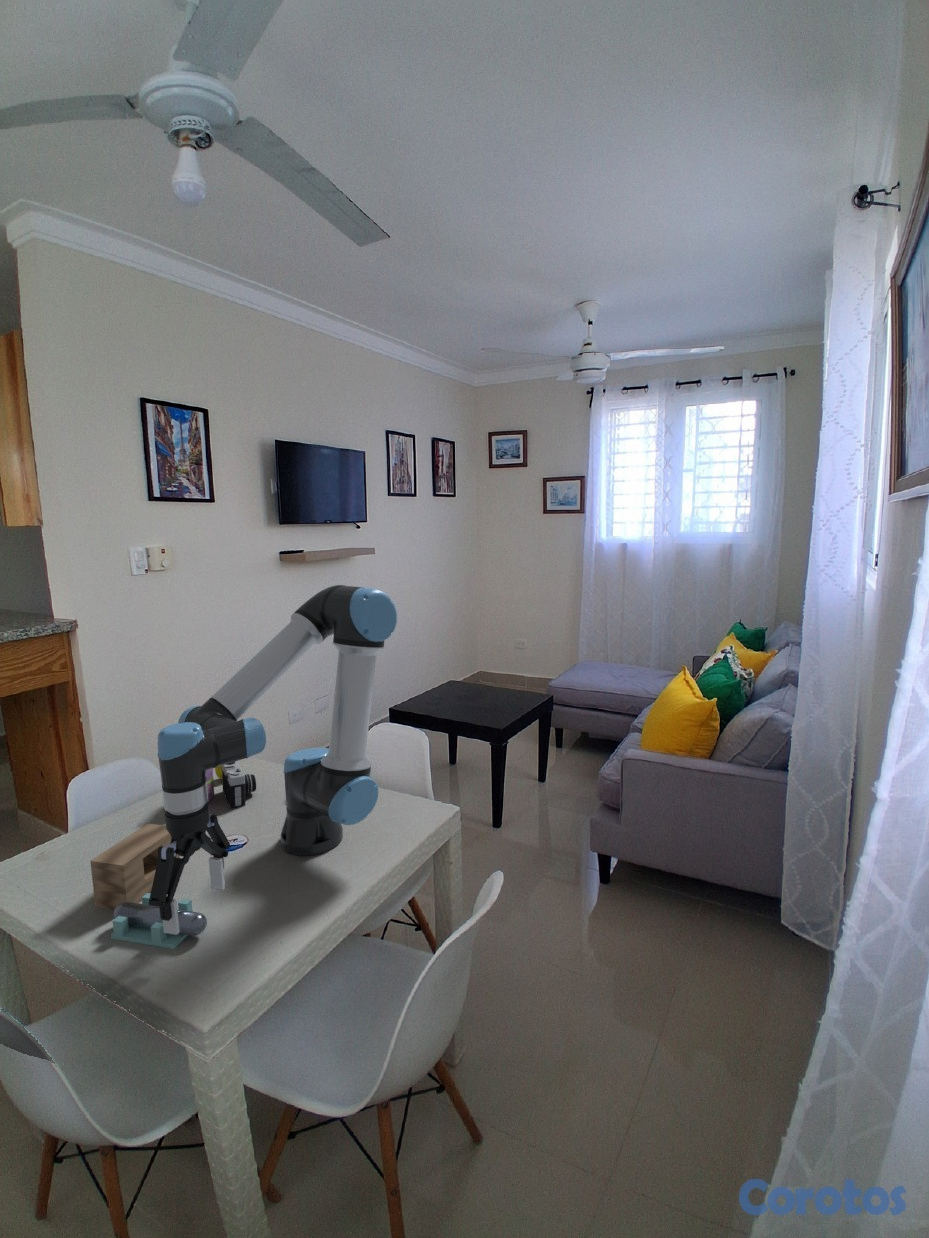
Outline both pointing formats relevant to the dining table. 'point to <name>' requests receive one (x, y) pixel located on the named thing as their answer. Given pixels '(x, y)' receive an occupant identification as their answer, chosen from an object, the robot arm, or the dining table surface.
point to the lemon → (219, 771)
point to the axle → (151, 914)
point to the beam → (128, 867)
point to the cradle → (152, 935)
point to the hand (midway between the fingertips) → (196, 909)
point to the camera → (236, 784)
